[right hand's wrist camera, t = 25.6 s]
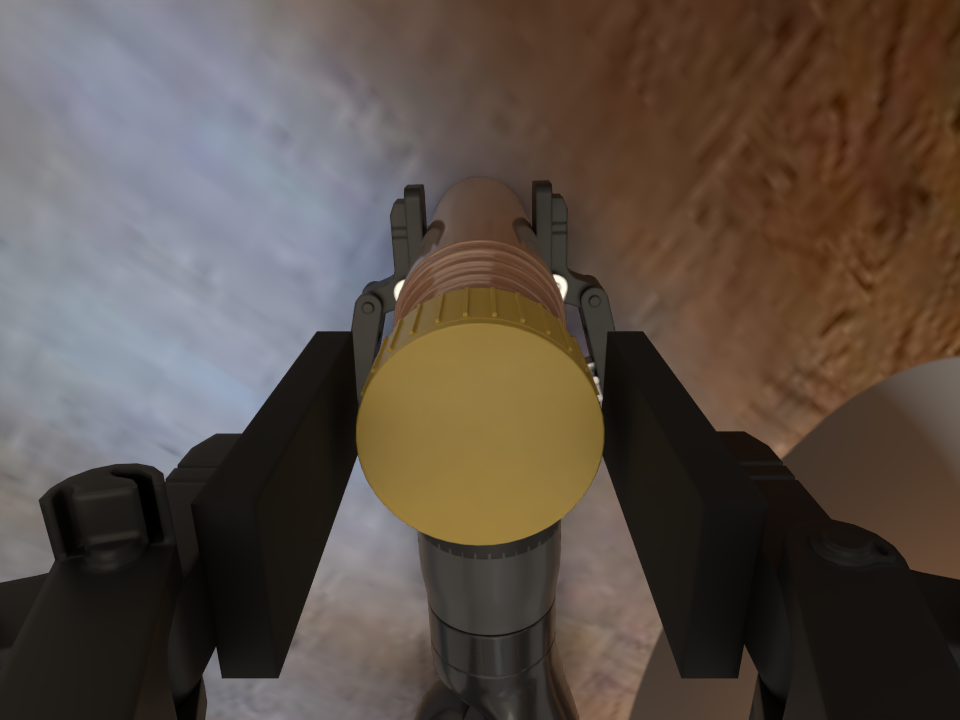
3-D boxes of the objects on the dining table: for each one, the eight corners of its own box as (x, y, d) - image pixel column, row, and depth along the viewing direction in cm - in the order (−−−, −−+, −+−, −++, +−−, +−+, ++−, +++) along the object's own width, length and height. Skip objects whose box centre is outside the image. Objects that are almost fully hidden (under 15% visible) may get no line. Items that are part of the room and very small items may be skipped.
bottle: (463, 158, 34) (432, 251, 12) (543, 207, 35) (654, 380, 13) (417, 240, 36) (313, 459, 13) (495, 285, 36) (520, 561, 14)
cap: (331, 405, 15) (303, 460, 12) (461, 238, 13) (457, 266, 11) (496, 516, 16) (498, 587, 13) (632, 373, 14) (661, 423, 12)
